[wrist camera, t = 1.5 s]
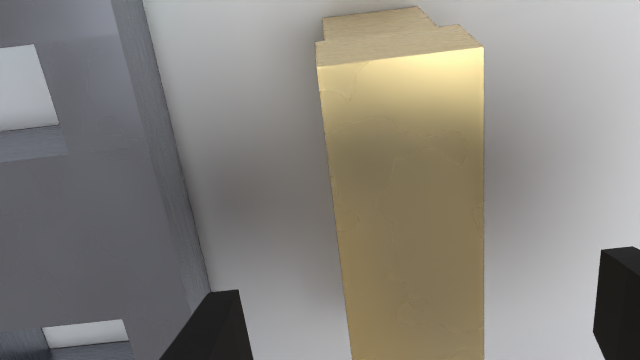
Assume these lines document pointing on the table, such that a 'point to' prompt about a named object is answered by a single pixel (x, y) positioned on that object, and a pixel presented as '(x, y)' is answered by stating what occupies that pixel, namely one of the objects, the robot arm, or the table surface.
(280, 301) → the table surface
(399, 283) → the wooden bridge block
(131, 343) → the rail
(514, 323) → the table surface
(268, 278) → the table surface
